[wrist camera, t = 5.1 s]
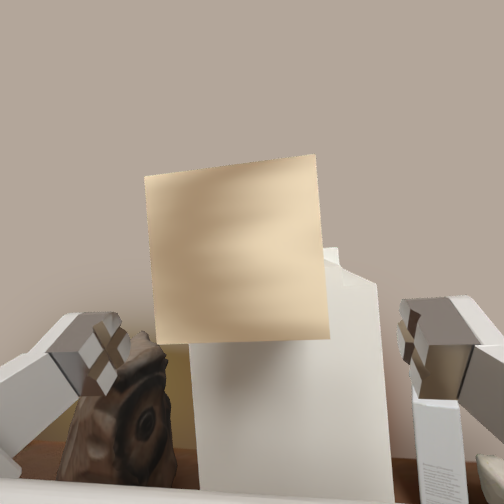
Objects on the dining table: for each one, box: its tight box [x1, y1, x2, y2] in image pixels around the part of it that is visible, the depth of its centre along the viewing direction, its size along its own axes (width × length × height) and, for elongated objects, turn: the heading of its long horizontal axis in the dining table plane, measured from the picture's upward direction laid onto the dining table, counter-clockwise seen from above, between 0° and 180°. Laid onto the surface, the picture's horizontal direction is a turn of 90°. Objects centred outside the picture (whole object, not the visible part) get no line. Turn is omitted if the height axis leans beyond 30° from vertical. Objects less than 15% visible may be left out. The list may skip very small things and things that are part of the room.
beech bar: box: [144, 154, 330, 344], centre depth 18 cm, size 4×22×4 cm, turn 170°
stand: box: [189, 247, 395, 503], centre depth 24 cm, size 10×16×28 cm, turn 170°
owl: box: [55, 331, 177, 488], centre depth 30 cm, size 13×13×20 cm
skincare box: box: [412, 384, 469, 504], centre depth 32 cm, size 6×4×12 cm
